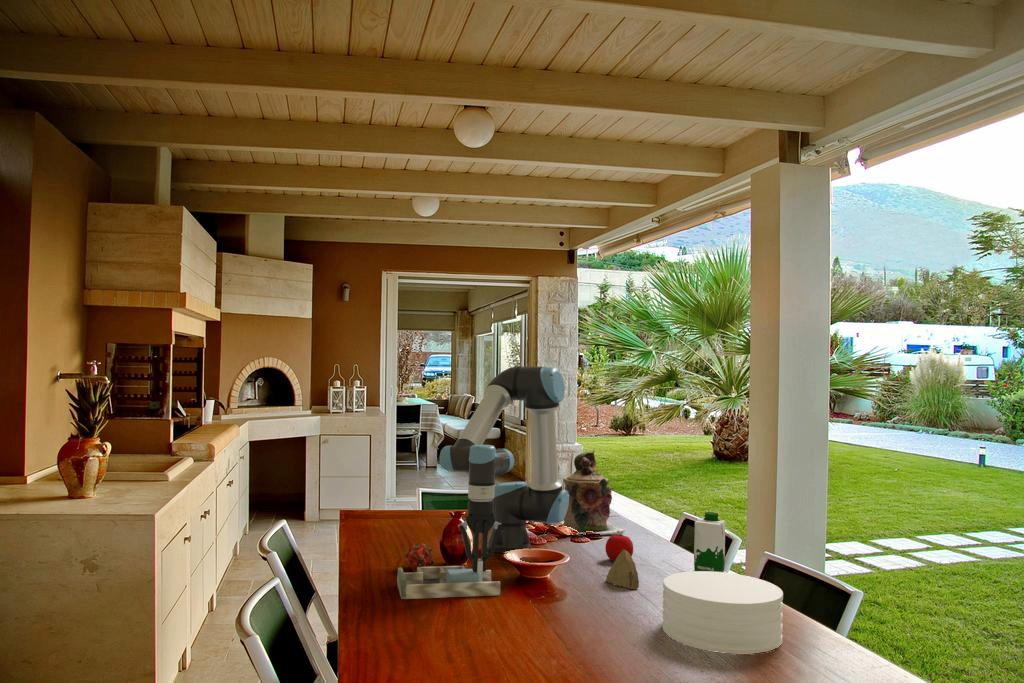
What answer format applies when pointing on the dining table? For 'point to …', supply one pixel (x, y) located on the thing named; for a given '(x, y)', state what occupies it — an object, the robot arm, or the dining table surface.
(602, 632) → the dining table surface
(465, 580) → the block
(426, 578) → the tray
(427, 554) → the dragon fruit
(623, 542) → the fruit
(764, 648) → the plate stack
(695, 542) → the milk carton
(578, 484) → the cookie jar
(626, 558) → the rock
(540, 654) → the dining table surface
